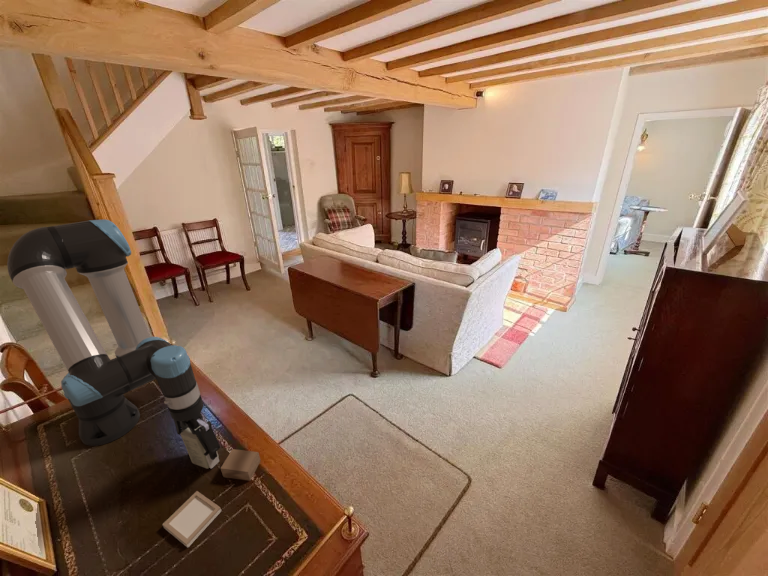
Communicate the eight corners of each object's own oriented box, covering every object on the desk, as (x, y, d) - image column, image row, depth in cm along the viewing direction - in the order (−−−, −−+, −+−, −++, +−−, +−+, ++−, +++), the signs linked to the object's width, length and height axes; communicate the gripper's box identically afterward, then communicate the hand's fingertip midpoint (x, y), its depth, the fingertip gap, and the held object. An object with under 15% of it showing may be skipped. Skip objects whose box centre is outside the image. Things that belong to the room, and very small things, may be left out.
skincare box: (219, 456, 94) (210, 427, 89) (207, 469, 90) (197, 440, 85) (202, 450, 96) (192, 421, 91) (190, 462, 92) (179, 433, 87)
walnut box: (223, 477, 88) (220, 468, 87) (235, 458, 94) (232, 449, 92) (250, 481, 88) (247, 471, 86) (260, 461, 93) (258, 452, 91)
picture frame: (164, 528, 77) (162, 524, 76) (198, 494, 84) (196, 490, 83) (187, 547, 73) (186, 544, 72) (221, 511, 80) (220, 507, 80)
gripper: (146, 396, 84) (170, 453, 94) (196, 425, 76) (217, 485, 85) (173, 378, 90) (193, 434, 100) (223, 404, 82) (240, 462, 92)
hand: (204, 457), depth 93 cm, fingers open, 8 cm apart
